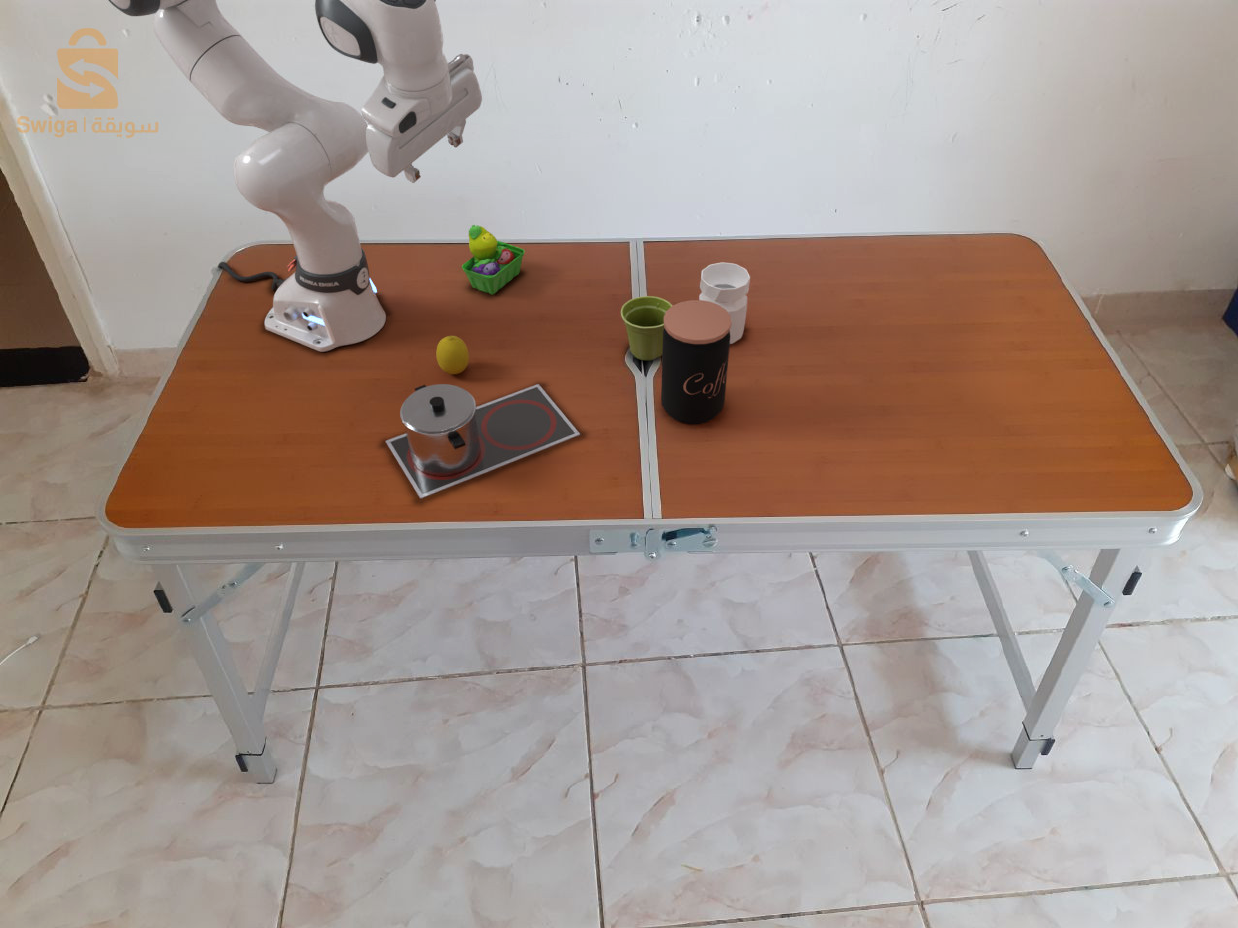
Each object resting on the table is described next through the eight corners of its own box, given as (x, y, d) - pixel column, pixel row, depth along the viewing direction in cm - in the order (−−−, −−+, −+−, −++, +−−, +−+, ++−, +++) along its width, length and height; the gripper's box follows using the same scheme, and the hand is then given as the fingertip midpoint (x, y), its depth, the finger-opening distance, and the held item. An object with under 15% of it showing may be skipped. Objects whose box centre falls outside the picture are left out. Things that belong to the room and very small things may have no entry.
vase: (690, 339, 175) (693, 283, 167) (705, 313, 181) (709, 258, 173) (736, 350, 173) (741, 294, 164) (750, 323, 179) (756, 268, 170)
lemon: (476, 367, 170) (471, 330, 164) (462, 386, 166) (456, 349, 161) (448, 361, 171) (442, 324, 166) (434, 379, 168) (427, 343, 162)
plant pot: (668, 370, 169) (670, 330, 163) (616, 363, 170) (615, 324, 164) (676, 338, 175) (678, 299, 169) (626, 332, 177) (626, 293, 171)
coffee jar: (681, 435, 157) (685, 347, 144) (649, 398, 164) (650, 311, 151) (736, 414, 160) (744, 327, 148) (702, 379, 167) (708, 292, 154)
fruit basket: (494, 300, 185) (487, 249, 177) (458, 287, 188) (450, 236, 180) (528, 272, 191) (524, 222, 184) (493, 260, 195) (487, 210, 187)
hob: (420, 500, 147) (420, 498, 146) (385, 443, 156) (385, 440, 156) (580, 436, 157) (580, 434, 156) (538, 386, 166) (538, 383, 166)
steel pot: (431, 496, 147) (420, 444, 139) (394, 436, 157) (382, 385, 149) (500, 468, 151) (493, 417, 143) (459, 412, 161) (451, 361, 153)
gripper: (453, 38, 139) (465, 114, 151) (351, 116, 131) (373, 189, 143) (486, 57, 137) (495, 132, 149) (384, 137, 129) (403, 209, 141)
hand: (435, 161), depth 146 cm, fingers open, 8 cm apart
